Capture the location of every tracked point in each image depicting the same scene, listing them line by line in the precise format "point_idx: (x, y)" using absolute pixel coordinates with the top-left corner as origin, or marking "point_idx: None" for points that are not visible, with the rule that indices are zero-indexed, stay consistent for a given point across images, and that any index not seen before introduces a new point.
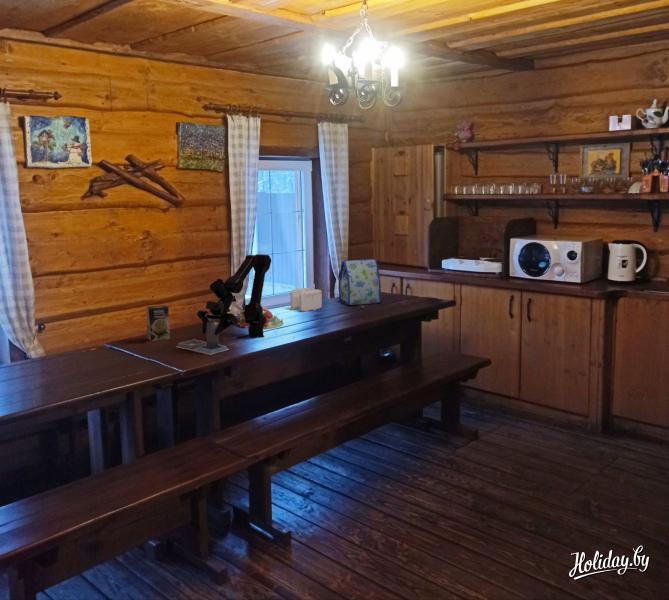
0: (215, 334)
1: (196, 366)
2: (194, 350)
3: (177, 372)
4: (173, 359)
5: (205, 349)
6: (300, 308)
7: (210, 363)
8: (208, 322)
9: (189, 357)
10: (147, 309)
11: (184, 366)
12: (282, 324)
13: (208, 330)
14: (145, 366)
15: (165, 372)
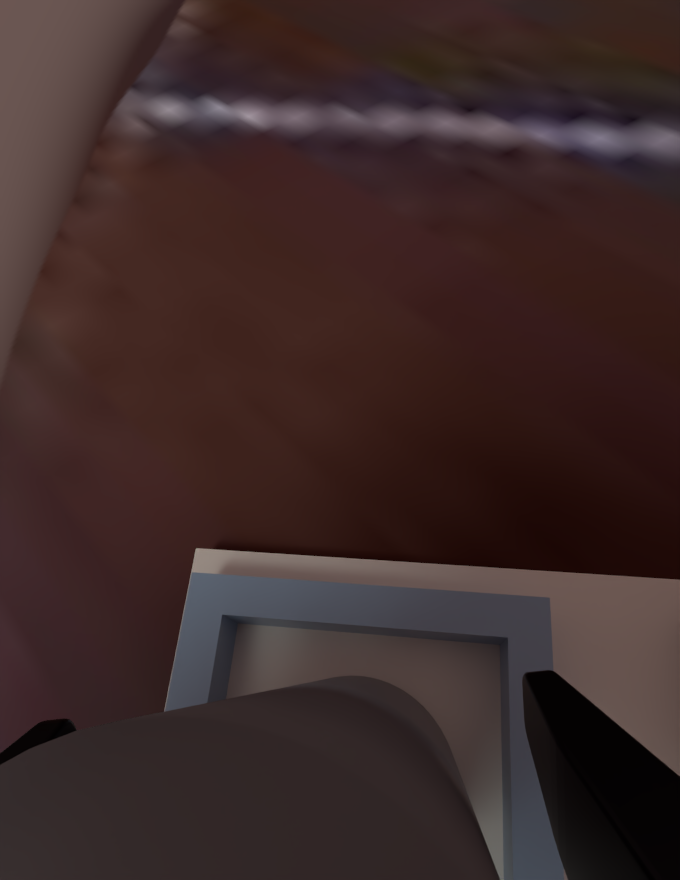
0: (58, 728)
1: (113, 231)
2: (589, 595)
3: (154, 73)
4: (519, 255)
5: (329, 584)
6: None
7: (41, 361)
8: (256, 790)
9: (431, 397)
10: None
11: (218, 179)
12: None
13: (289, 695)
14: (526, 25)
15: (240, 33)
